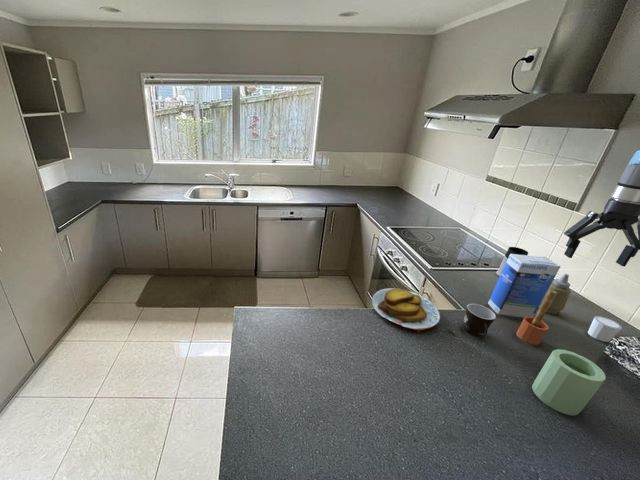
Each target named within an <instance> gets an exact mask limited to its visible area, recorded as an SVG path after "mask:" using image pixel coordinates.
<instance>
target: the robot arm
mask: <svg viewBox="0 0 640 480" xmlns="http://www.w3.org/2000/svg"><path fill="white" fill-rule="evenodd" d="M610 197H611V198H608V200H607V201H606V203H605V205H604V207H603V211H602V212H601V213H598V212H594V211H593V210H590V211H588V212H587V213H586V214H585V216H583V218H581V219H580V220H578V222H576V223H575V224H573V225H571V227H569V228H568V229H567V230H565V231H564V232H563V234H564V235H565V236H566V237H567V238H568V240H567V242H566V244H565V246H566V247H567V248H566V250H565V251H564V253H563V255H565V256H566V258H569V259H572V258H573V256H574V255H575V254H576V253H575V252H576V251H577V249H578V247H579V245H580V244H581V242H582V241H581V240H580V239H582V238H584V237H587V236H589V235H591V234H593V233H596V232H598V231H600V230H604V229H606V228H607V229H610V230H618V231H622V232H623V234H624V236H625V238H626V240H627V241H628V243H629V245H628V244H626V245H625V246H624V248H623V249H622V251H621V253H620V255H619V256H618V257H617V259H616V261H615V263H616V264H618V265H619V266H621V267H625V268H626V266H627V264H628V262H629V261H630V260H631V258H634V257H635V256H636V255H637V253H638V252H639V251H640V149H639V150H637V151H635V152H634V154H633V155H632V157H631V159H630V161H629V162H628V163H627V165H626V167H625V169H624V171H623V173H622V175H621V176H620V178H619V180H618V182H617V184H616V186H615V188H614V189H613V191H612V193H611V195H610ZM635 224H636V227H637V235H636V233H635V229H634V228H633V225H635Z"/></svg>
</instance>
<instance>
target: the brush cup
mask: <svg viewBox="0 0 640 480" xmlns="http://www.w3.org/2000/svg"><path fill="white" fill-rule="evenodd" d="M534 318H535V317H528V316H527V317H524V318H523V319H522V321H521V323H520V325H519V327H518V329H517V331H516V333H515V334H516V336H517V337H518V339H520V340H521V341H523V342H525V343H527V344H529V345H532V346H533V345H534V346H539V345H540V344H541V343H542V341H543V339H544V337H545V335H546V334H547V332H548V331H549V329H550V327H549V326H548V324H547V323H546V322H545V321H543V320H541V322H540V324H539V326H538V327H535V326H533V325H531V323H532V322H533V320H534Z"/></svg>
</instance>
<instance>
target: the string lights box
mask: <svg viewBox="0 0 640 480" xmlns="http://www.w3.org/2000/svg"><path fill="white" fill-rule="evenodd" d="M560 268H561V265H559V264H558V263H556V262H555V261H553V260H551V259H550V258H549V257H547V256H538V255H529V254H528V255H518V254H510V256H509V258H508V260H507V262H506V264H505V267H504V269H503V271H502V273H501V276H499V278H498V279H497V282H496V284H495V286H494V288H493V292H492V293H491V295H490V298H489V300H488V302H487V304H488V305H489V307H490V308H491V310H493V312H494V313H496V314H497V315H500V316H507V317H513V318H514V317H516V318H523V319H524V317H527V316H528V317H533V318H535V316H536V314H537V312H538V310H539V305H540V304H541V302H542V300H543V298H544V296H545V294H546V292H547V291H548V289H549V287H550V285H551V283H553V282H554V280H555V279H556V276H557V274H558V272H559V270H560Z"/></svg>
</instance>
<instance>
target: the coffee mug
mask: <svg viewBox="0 0 640 480" xmlns="http://www.w3.org/2000/svg"><path fill="white" fill-rule="evenodd" d="M496 318H497V316H496V314H495V311H494V310H493V311H492V309H490V308H488V307H486V306H484V305H481V304H477V303H468V304H467V305H466V309H465V313H464V318H463V322H462V327H461V328H462V330H463V331H464V332H465V333H467V334H468V335H470V336H473V337H475V338H481V337H483V336H485V335H487V334H488V330H489V328H490V326H491V325H492V323H493V322H494V321H495V319H496Z"/></svg>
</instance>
